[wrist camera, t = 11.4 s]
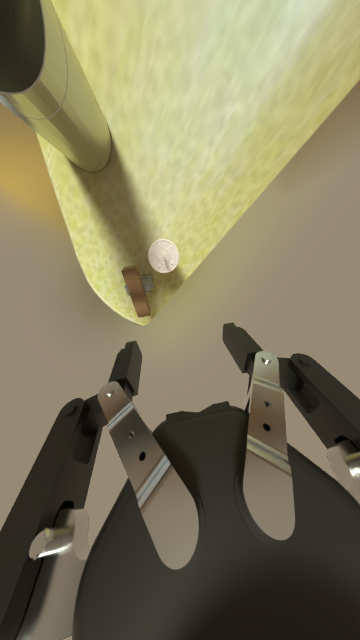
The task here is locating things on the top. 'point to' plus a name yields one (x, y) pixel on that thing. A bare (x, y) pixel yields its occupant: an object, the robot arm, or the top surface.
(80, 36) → the top surface
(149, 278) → the block
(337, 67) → the top surface
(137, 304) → the walnut bar
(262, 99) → the top surface
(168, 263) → the smoothie
